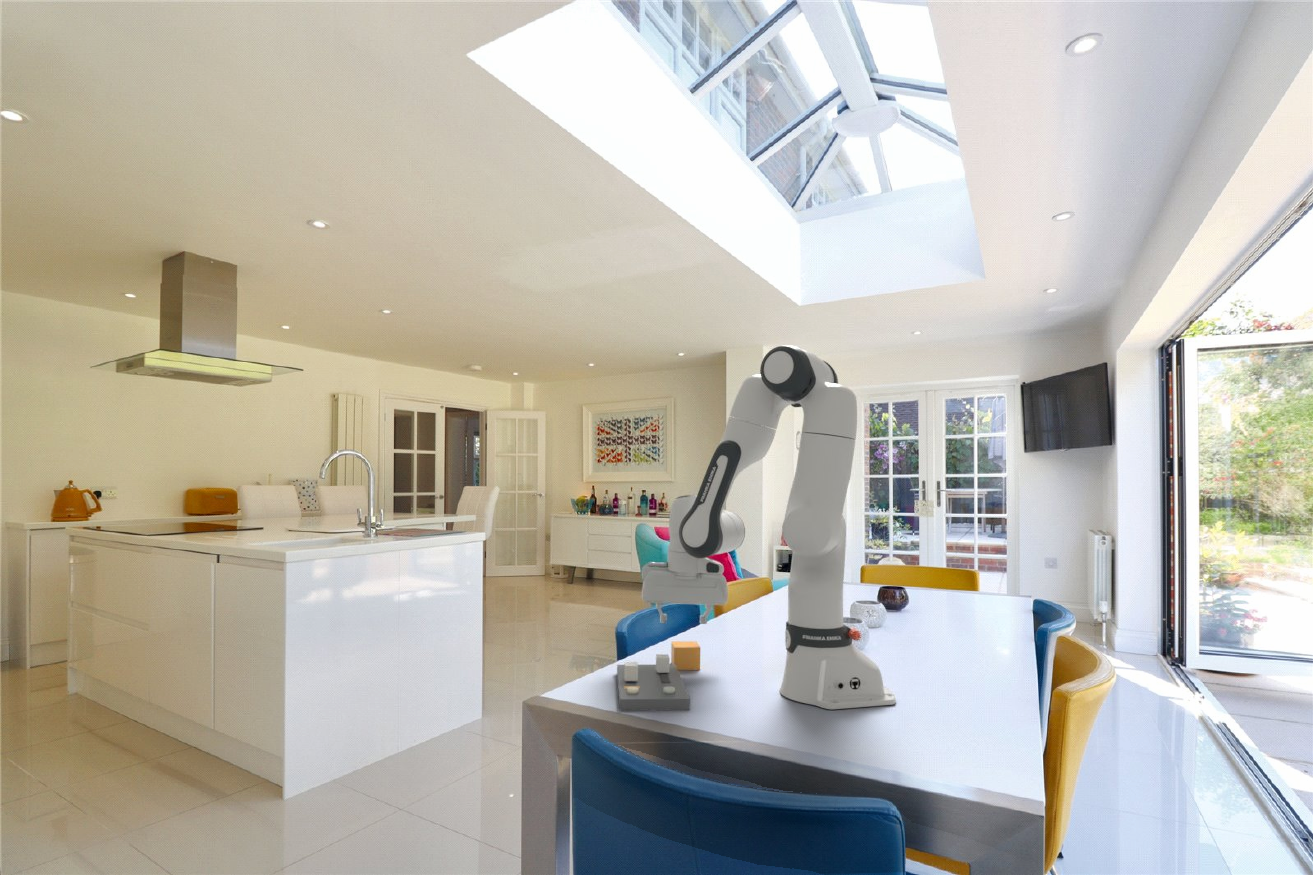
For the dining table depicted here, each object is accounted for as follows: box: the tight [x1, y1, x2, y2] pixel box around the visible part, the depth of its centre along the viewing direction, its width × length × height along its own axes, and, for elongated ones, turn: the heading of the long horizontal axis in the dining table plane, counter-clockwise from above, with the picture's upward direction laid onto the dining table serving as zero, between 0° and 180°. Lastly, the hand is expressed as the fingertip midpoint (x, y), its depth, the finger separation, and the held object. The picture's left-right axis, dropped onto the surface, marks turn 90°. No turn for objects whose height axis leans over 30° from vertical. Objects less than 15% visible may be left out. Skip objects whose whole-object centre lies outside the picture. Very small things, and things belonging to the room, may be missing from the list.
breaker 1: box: [624, 661, 639, 681], centre depth 133 cm, size 3×3×3 cm
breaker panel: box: [616, 664, 691, 711], centre depth 133 cm, size 13×24×3 cm, turn 5°
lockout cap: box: [670, 640, 701, 671], centre depth 152 cm, size 6×6×5 cm
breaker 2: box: [655, 653, 670, 673], centre depth 139 cm, size 3×3×3 cm
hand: (683, 622), depth 153 cm, fingers open, 8 cm apart
